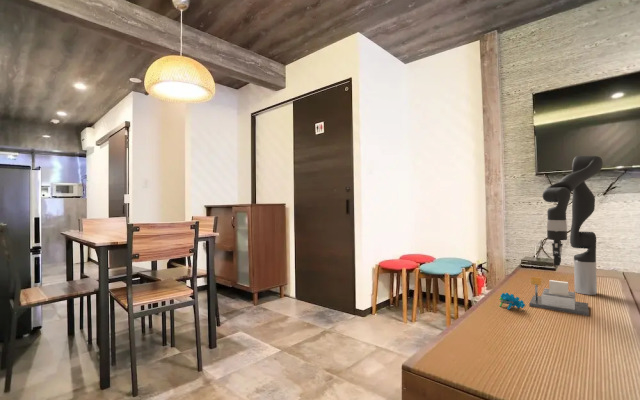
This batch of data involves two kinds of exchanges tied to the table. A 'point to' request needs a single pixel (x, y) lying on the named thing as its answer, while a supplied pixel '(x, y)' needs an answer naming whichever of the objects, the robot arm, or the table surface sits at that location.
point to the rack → (557, 301)
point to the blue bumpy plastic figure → (511, 301)
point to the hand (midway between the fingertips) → (557, 264)
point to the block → (558, 287)
